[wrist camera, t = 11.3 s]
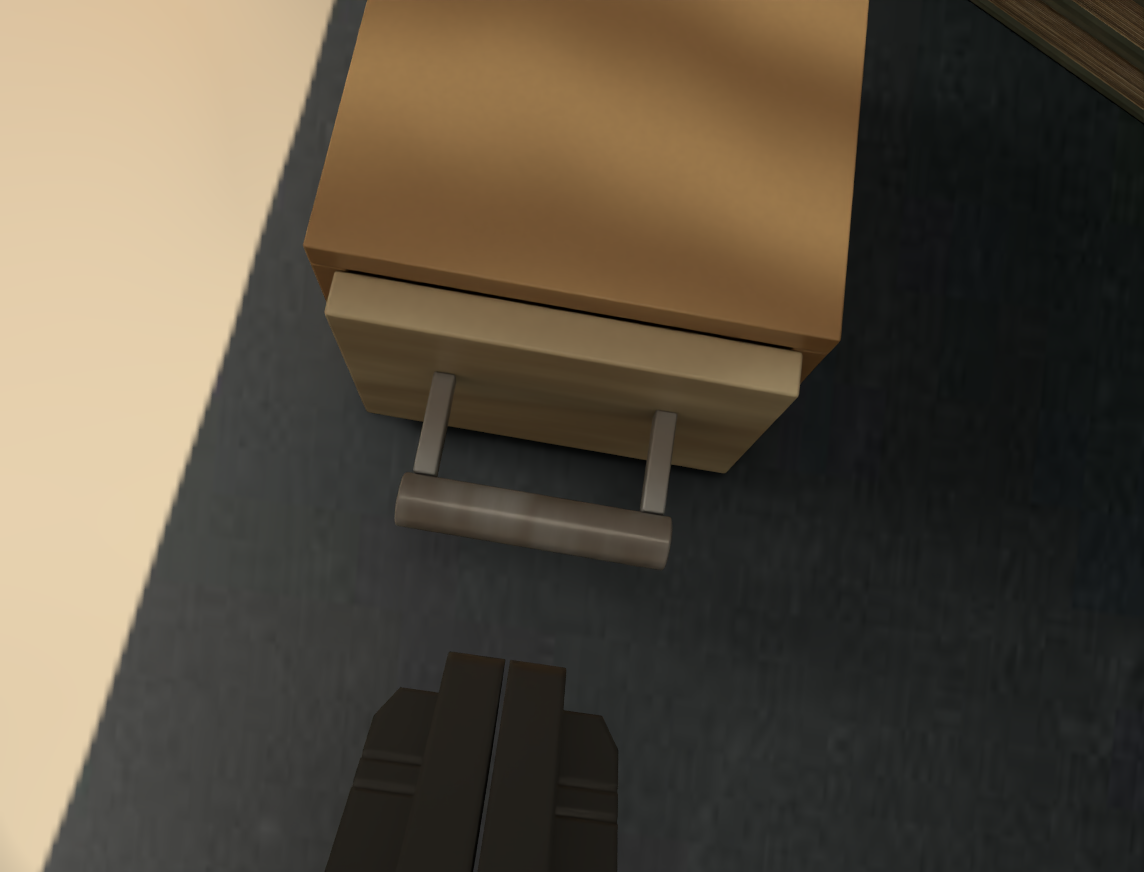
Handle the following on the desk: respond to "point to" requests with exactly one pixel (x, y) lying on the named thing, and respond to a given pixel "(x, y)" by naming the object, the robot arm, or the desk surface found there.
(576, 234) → the cabinet
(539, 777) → the robot arm
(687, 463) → the drawer
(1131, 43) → the hinged wooden box
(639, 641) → the desk surface
